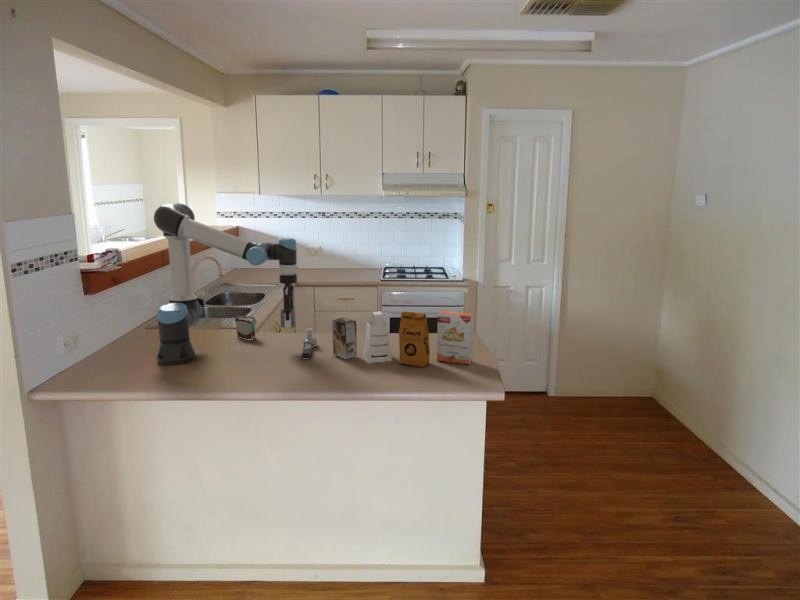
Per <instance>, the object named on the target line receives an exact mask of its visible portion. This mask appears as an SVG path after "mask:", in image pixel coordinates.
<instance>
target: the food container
mask: <svg viewBox="0 0 800 600" xmlns="http://www.w3.org/2000/svg"><path fill="white" fill-rule="evenodd" d="M234 322H235V328H236V334H237V338H238V337H241V338H246V339H251V340H252V339H254V338H255V339H256V324H257V323H258V322H257V319H256V317H254V316H251V315H250V316H248V315H244V316H236V317H234ZM241 338H240V339H241ZM246 339H245V340H246ZM255 339H254V340H255ZM252 341H253V340H252Z"/></svg>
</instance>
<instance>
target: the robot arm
mask: <svg viewBox="0 0 800 600" xmlns="http://www.w3.org/2000/svg"><path fill="white" fill-rule="evenodd" d="M153 214H154V215H153V222H154V224H155V226H156V228H157V229H159V230H160V231H161V232H162V233H163V237H164V238H165V239H166V240H167V243H168V244H167V245H168V257H169V267H170V268H169V270H170V279H171V280H170V281H171V291H172V293H171V294H172V295H170V297H169V298H168V300H169V303H167V304H163V305H160V307H158V309H157V313H156V314H157V315H156V319H157V325H158V337H159V348H158V351H157V356H156V362H157V364H160V365H161V366H163V365H164V366H177V365H183V364H188V363H191V362H193V361H195V359H196V357H197V356H196V351H195V349H194V347H193V345H192V341H191V340H190V339H191V338H190V328H191V327H193V326H194V325H196V324H197V323H198V322H199V321H200V319H201V317H202V314H203V313H202V309H203V308H202V306H201V304H200V303H199V301H198V296H197V295H196V294H195V293H194V283H193V282H194V281H193V272H192V271H193V270H192V269H193V268H192V259H191V258H192V257H191V247H190V246H191V244H190V243H191V242H190V240H192V241H195V242H198V243H200V244H202V245H204V246H205V245H206V246H208V247H211V248H213V249H216V250H218V251H221V252H224V253H227V254H229V255H231V256H234V257H237V258H239V259H242V260H245V261H247V262H248V263H249V264H250V265H253V266H260V265H263V264H264V263H265V262H267V261H278V273H279V276H278V277H279V283H280V284H282V285H284V286H283V287H282V290H283V291H282V293H283V307H284V311H283V313H284V315H285V327H284V328H292V327H291V311H290V307H294V284H296V283H297V282H298V277H297V276H298V275H297V272H298V271H297V269H299V266H298V265H297V264H298V263H297V260H298V259H297V256H298V255H297V254H298V253H297V251H298V249H297V240H296V239H295V238H293V237H282V238H279V239H278V241H277V242H260V241H257V242H250V241H248V240H245V239H244V238H243V239H242V238H241V237H238V236H236V235H233V234H230V233H228V232H225V231H222V230H219V229H216V228H215V227H212V226H210V225H206V224H204V223H201V222H199V221H196V219H195V214H194V211H193V209H191V207H189V206H188V205H186V204H184V203H180V202H179V203H178V202H175V203H167V204H162V205H160V206H159V207H158V208H156V210H155V211H154V213H153Z"/></svg>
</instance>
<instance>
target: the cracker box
mask: <svg viewBox="0 0 800 600" xmlns="http://www.w3.org/2000/svg"><path fill="white" fill-rule="evenodd" d="M436 332H437V333H436V334H437V336H436V338H437V339H436V343H437V344H436V362H441V361H444V362H443V363H449V362H452V364H457V363H460V364H459V365H464V364H468V365H467V366H470V364H471V363H472V362H473V347H474V345H473V344H474V313H470V312H469V313H468V312H461V311H460V312H459V311H449V310H441V311H439V312H438V313H437V331H436ZM471 361H472V362H471Z"/></svg>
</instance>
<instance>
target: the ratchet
mask: <svg viewBox="0 0 800 600" xmlns="http://www.w3.org/2000/svg"><path fill="white" fill-rule="evenodd" d="M302 342H303V347H304V346H305V347H304V348H302V349H303V350H302V352H301V359H302V358H310V359H311V357H310V355H311V356H312V351H311V349H312V350H313V348H312V346H314V345H316V344H317V345H318V343H317V342H318V340H317V338H315V337H313V328H309V327H308V328H307V329H306V338H304V339H303V341H302Z"/></svg>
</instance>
